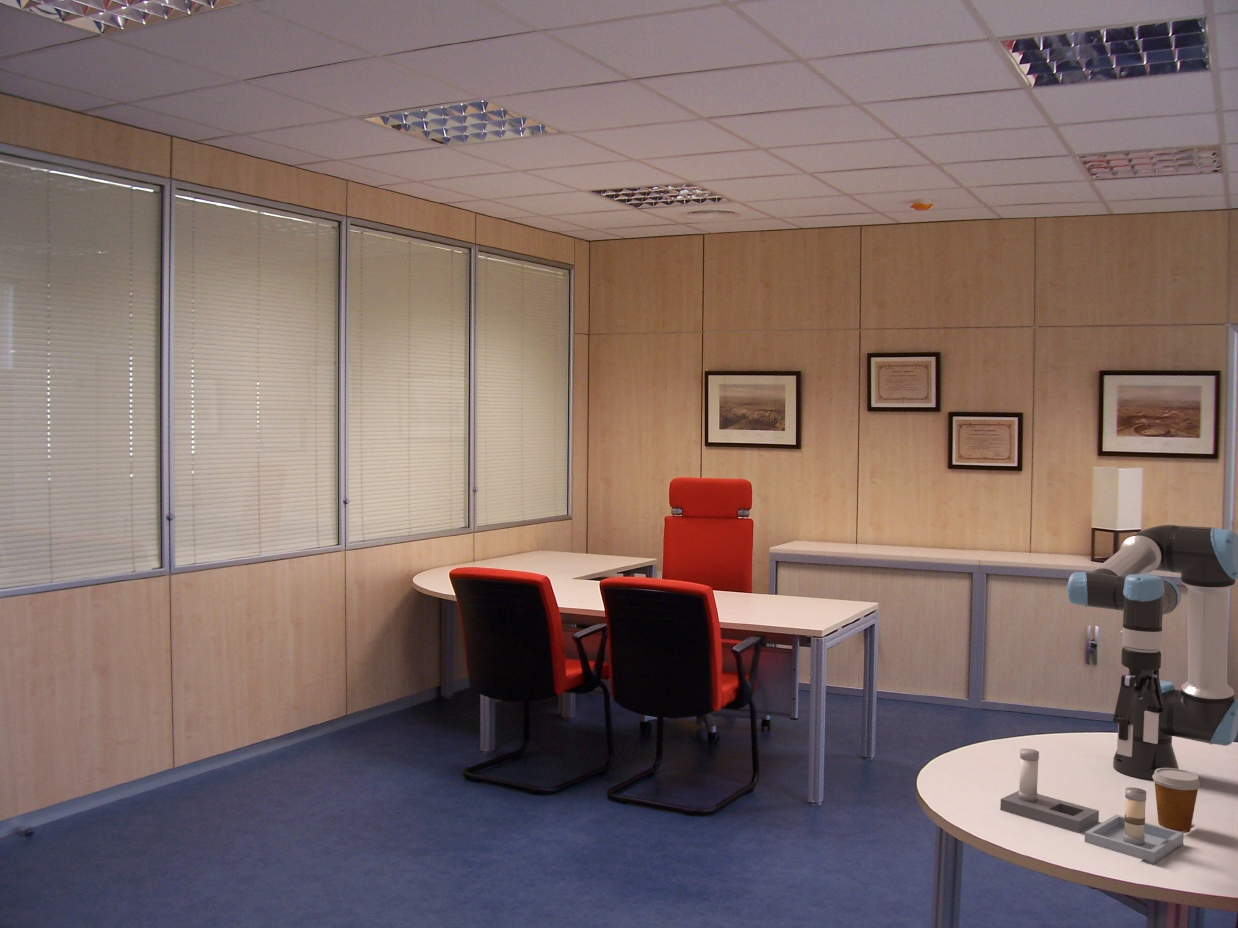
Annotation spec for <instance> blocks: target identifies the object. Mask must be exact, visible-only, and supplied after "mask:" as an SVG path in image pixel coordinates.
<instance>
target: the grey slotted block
mask: <svg viewBox="0 0 1238 928" xmlns="http://www.w3.org/2000/svg"><path fill="white" fill-rule="evenodd" d="M1019 757H1020V760H1019V787H1018V788H1019V789H1018V790H1017V791H1015V792H1012V793H1011V794H1009V795H1006V796H1004V797H1002V798H1000V807H999V808H1000V811H1003V812H1005V813H1008V814H1013V815H1016V816H1018V817H1019V816H1020V817H1023V818H1027V819H1031V820H1033V821H1036V822H1040V823H1043V824H1047V825H1050V826H1053V827H1056V828H1060V829H1064V830H1067V831H1071V832H1074V833H1077V834H1079V833H1081V832H1083V831H1085V830H1087V829H1088V828H1090V827H1092V826H1095V825H1096V824H1098V823H1100V822H1099V815H1100V810H1098V809H1094V808H1090V807H1087V806H1083V805H1080V804H1076V803H1073V802H1069V801H1065V800H1061V799H1058V798H1053V797H1051V796H1049V795H1048V796H1047V795H1043V794H1040V793H1038V781H1039V780H1038V778H1039V776H1038V775H1039V759H1040V751H1039V750H1036V749H1033V748H1020V751H1019Z"/></svg>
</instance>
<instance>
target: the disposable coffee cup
mask: <svg viewBox="0 0 1238 928" xmlns="http://www.w3.org/2000/svg"><path fill="white" fill-rule="evenodd" d="M1199 777H1200V776H1198V775H1197V774H1195V773H1194V772H1192V771H1188V770H1185V769H1182V768H1179V769H1175V768H1159V769H1156V770H1155V772H1154V774H1153V775H1152V778H1153V780H1152V781H1153V782H1154V790H1155V792H1154V793H1155V800H1156V812H1157V822H1158V826H1160V827H1164V828H1167V829H1171V830H1174V831H1178V832H1183V833H1189V832H1191V828H1192V823H1193V819H1194V818H1193V817H1194V811H1195V806H1196V802H1197V797H1198V791H1199V789H1200V786H1201V781H1200V778H1199Z"/></svg>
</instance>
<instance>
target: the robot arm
mask: <svg viewBox="0 0 1238 928" xmlns="http://www.w3.org/2000/svg"><path fill="white" fill-rule="evenodd" d="M1154 571H1160V572H1169V573H1177V574H1180V582H1181V583H1182V585H1183V586H1184V587H1186V588H1187V681H1185V682H1184V683H1183V684H1181V686H1180V689H1176V686H1175V684H1174V682H1172V681H1167V680H1161V679H1160V669H1161V667H1162V652H1161V651H1160V650H1162V648H1163V618H1164V617H1163V616H1164V615H1166V614H1167V615H1168V614H1170V613H1172V612H1173V611H1174V610H1175V609H1176V608H1177V607H1178V606H1179V605H1180V603H1181V601H1182V600H1181V599H1182V594H1181V590H1180V588H1179V586H1178V585H1177V584H1176V583H1175V582H1173V581H1172V580H1170V579H1168V578H1162V577H1161V576H1159V575H1154V574H1149V573H1152V572H1154ZM1237 579H1238V534H1237V533H1236V532H1235V531H1233V530H1231V529H1225V528H1219V527H1210V526H1208V527H1207V526H1206V527H1205V526H1188V525H1175V524H1174V525H1173V524H1161V525H1158V526H1157V525H1156V526H1153V527H1148V528H1146V529H1143V530H1140V531H1138V532H1135V533H1134V534H1131V536H1129V537H1128V538H1126V539H1125V540H1123V542H1122V543H1121V545H1120V548H1119V550H1118V551H1117V552H1116V553H1114V554H1113V555H1111V556H1110V557H1109V558H1108V559H1106V560H1105V561H1104V562H1103V563H1101V564H1100V565H1099V566H1097V567H1096V568H1095V569H1093V570H1092V571H1091V572H1086V571H1075V572H1073V573H1071V575H1070V576H1069V578H1068V582H1067V592H1066V593H1067V597H1068V600H1069V602H1070V603H1071V604H1073V605H1078V606H1084V607H1087V608H1096V609H1105V610H1106V609H1108V610H1115V611H1122V612H1123V613H1122V629H1120V634H1121V636H1122V639H1121V640H1122V641H1121V642H1122V645H1123V647H1122V649H1121V660H1120V663H1121V665H1122V666H1123V667H1125V668H1128V675H1126V674H1121V679H1120V686H1119V692H1118V697H1117V701H1116V705H1115V710H1114V714H1113V718H1112V721H1113V723H1116V724H1117V744H1116V745H1117V746H1116V748H1117V749H1116V751H1115V754H1114V755H1113V760H1112V763H1113V765H1112V766H1113V768H1114V770H1115V771H1117V772H1119V773H1120V774H1124V775H1127V776H1129V777H1134V778H1138V779H1143V780H1144V779H1145V780H1151V781H1154V780H1153V778H1152V775H1153V774H1154V772H1155V770H1156V769H1159V768H1175V769H1180V768H1179V764H1178V761H1177V756H1176V755H1175V750H1174V747H1173V737H1175V738H1181V739H1186V740H1190V741H1196V742H1200V743H1201V742H1202V743H1205V744H1209V745H1218V746H1225V747H1226V746H1227V747H1228V746H1230V745H1231V744H1233V743H1234V740H1236V738H1237V735H1238V699H1237V698H1236V699H1235V690H1234V688H1233V687H1232V686H1230V685H1229V684H1228V641H1229V640H1228V633H1229V630H1228V629H1229V628H1228V627H1229V626H1228V625H1229V622H1228V619H1229V618H1228V617H1229V616H1228V614H1229V608H1228V607H1229V590H1230V589H1231V588H1233V587H1235V586H1236V580H1237Z"/></svg>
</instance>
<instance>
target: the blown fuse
mask: <svg viewBox="0 0 1238 928" xmlns="http://www.w3.org/2000/svg"><path fill="white" fill-rule="evenodd" d="M1124 792H1125V793H1124V794H1125V795H1124V796H1125V806H1124V809H1125V810H1124V817H1125V829H1124V842H1126V843H1129V844H1133V845H1137V846H1141V845H1144V843H1145V835H1144V829H1145V823H1146V803H1147V802H1146V801H1147V790H1144V789H1142V788H1139V787H1126V788H1125V791H1124Z"/></svg>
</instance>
